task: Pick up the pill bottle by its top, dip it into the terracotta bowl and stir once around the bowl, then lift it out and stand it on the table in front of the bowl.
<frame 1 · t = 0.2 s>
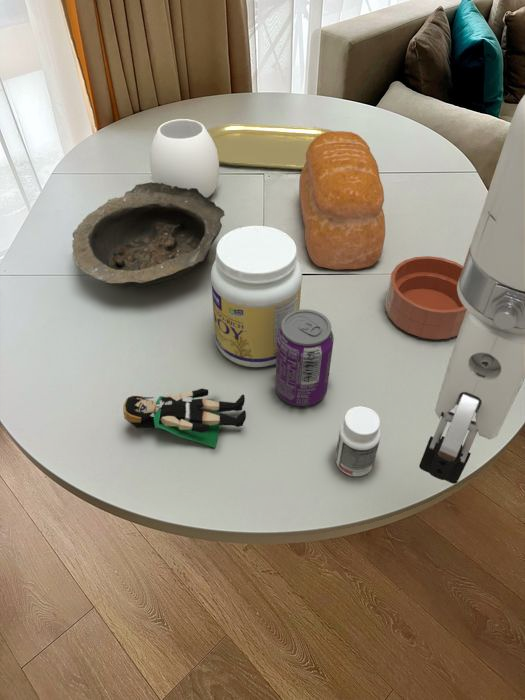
hand: (454, 432, 50), 19 cm above the table, tool pointing down, fingers open, 9 cm apart
supplement tub: (256, 342, 84), on the table
figurine: (186, 426, 73), on the table
beverage can: (300, 390, 78), on the table
bread: (336, 229, 105), on the table
white vase: (187, 195, 113), on the table
terracotta bowl: (427, 312, 89), on the table
pill bottle: (354, 461, 70), on the table
stone bowl: (152, 265, 97), on the table
serving platter: (274, 151, 126), on the table
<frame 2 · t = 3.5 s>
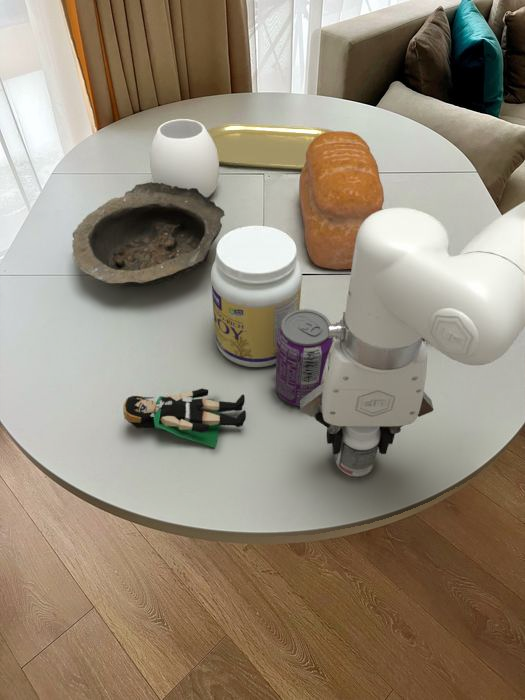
hand: (358, 443, 67), 4 cm above the table, tool pointing down, fingers closed on pill bottle, 4 cm apart
pill bottle: (353, 461, 70), on the table, touching gripper
everything else where it was.
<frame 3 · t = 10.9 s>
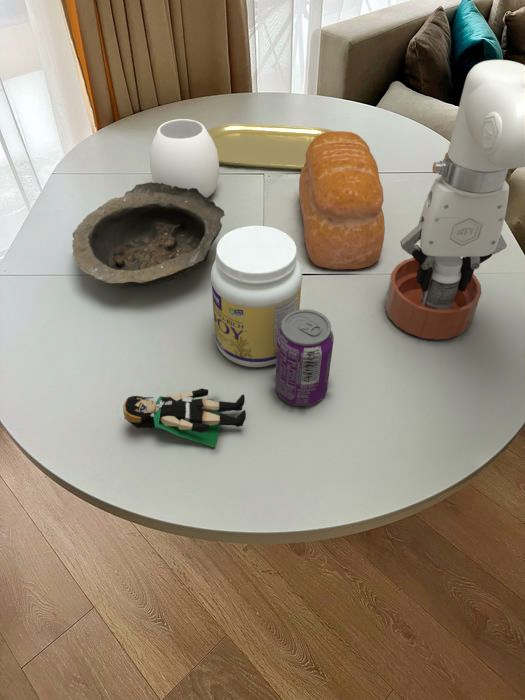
hand: (441, 284, 83), 7 cm above the table, tool pointing down, fingers closed on pill bottle, 4 cm apart
pill bottle: (435, 304, 86), point 3 cm above the table, touching gripper
everything else where it was.
when the fingers open (4 cm above the table, at t = 18.5 s): pill bottle stays where it is, on the table.
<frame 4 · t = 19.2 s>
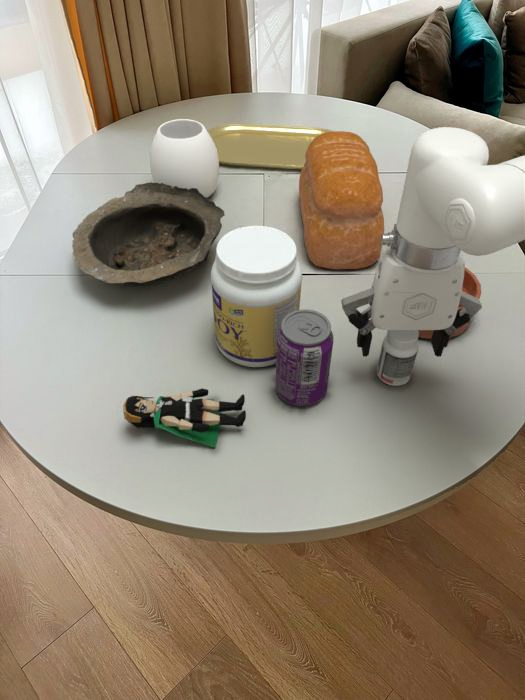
hand: (399, 349, 76), 5 cm above the table, tool pointing down, fingers open, 9 cm apart
pill bottle: (393, 375, 80), on the table
everything else where it was.
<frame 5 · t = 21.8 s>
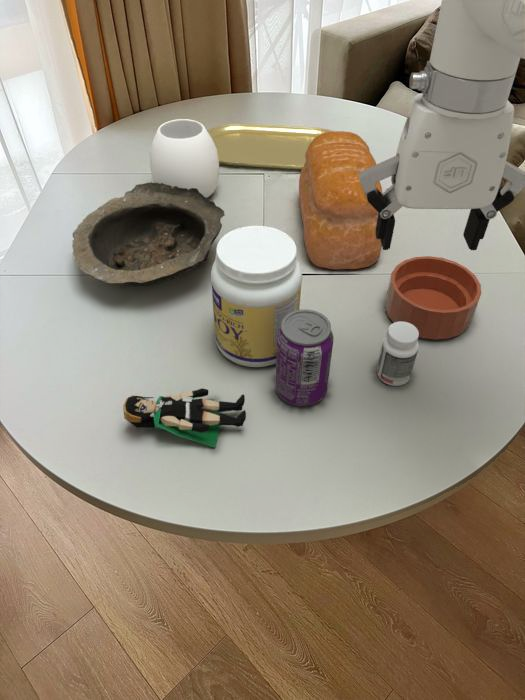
hand: (426, 242, 63), 22 cm above the table, tool pointing down, fingers open, 9 cm apart
nothing on the table moved.
at the end: pill bottle 0.0 cm from the target spot on the table beside the terracotta bowl, on the table; pill bottle tilted 0°; the gripper is holding nothing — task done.
